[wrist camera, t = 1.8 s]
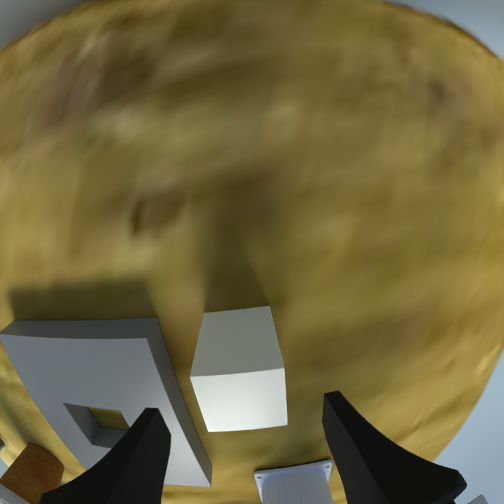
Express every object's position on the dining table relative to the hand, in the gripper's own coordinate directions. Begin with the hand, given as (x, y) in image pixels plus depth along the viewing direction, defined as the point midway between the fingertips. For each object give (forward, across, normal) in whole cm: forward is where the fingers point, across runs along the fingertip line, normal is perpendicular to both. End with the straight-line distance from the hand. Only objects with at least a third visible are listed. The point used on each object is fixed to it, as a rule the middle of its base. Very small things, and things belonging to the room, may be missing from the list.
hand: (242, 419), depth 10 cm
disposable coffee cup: (+7, +31, +21) cm, 38 cm away
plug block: (+7, 0, 0) cm, 7 cm away
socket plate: (+7, +12, +7) cm, 16 cm away
